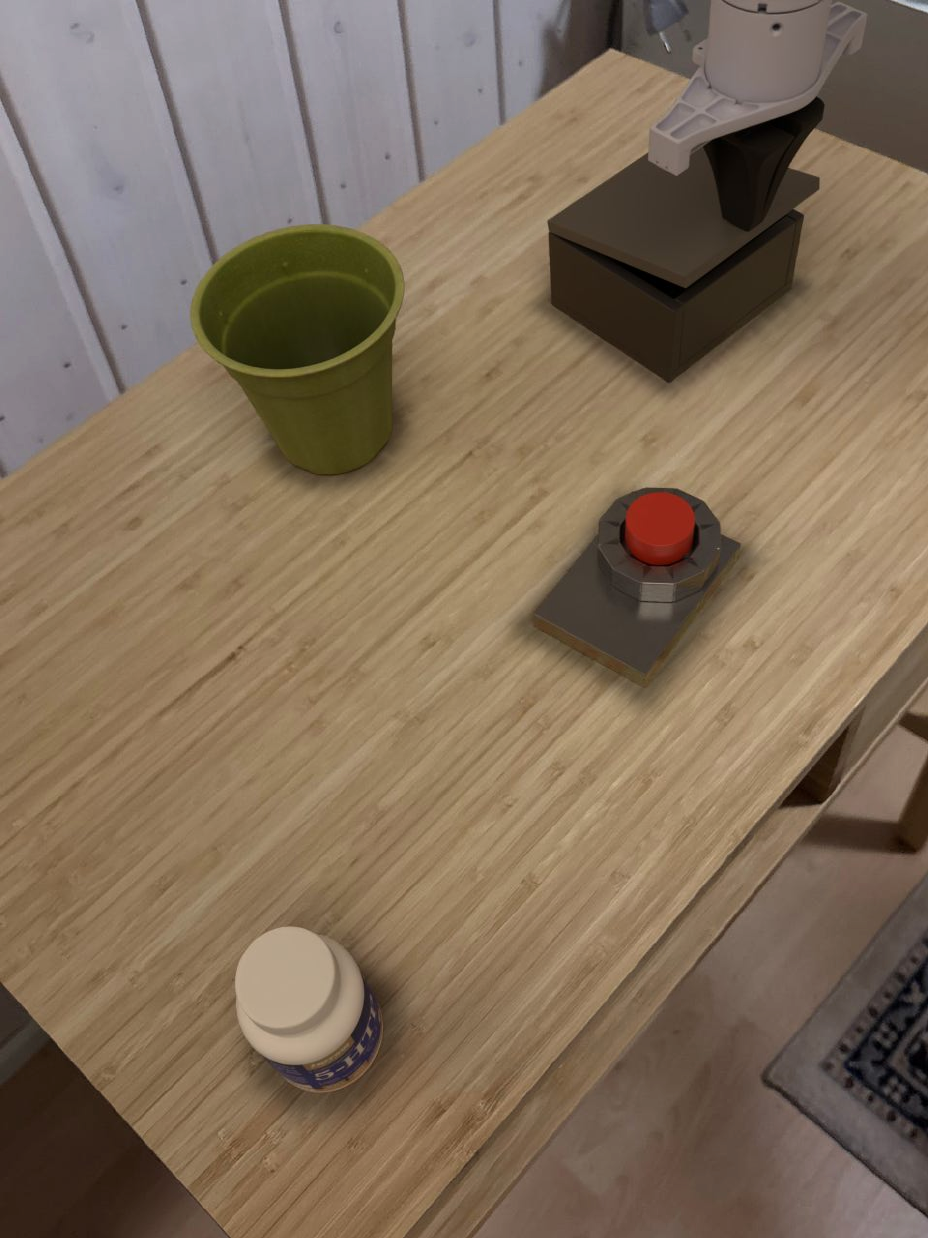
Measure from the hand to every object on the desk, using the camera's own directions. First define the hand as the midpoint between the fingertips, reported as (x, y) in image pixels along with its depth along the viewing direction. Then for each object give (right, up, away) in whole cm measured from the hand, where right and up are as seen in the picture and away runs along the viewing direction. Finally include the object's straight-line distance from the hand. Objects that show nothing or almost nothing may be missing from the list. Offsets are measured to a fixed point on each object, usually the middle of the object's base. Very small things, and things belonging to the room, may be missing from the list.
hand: (742, 219), depth 66 cm
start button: (-6, -19, -4) cm, 20 cm away
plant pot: (-24, -12, +6) cm, 27 cm away
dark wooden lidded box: (-2, -2, +10) cm, 10 cm away
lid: (-3, +2, +4) cm, 5 cm away
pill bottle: (-22, -42, -14) cm, 49 cm away
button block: (-6, -22, -3) cm, 23 cm away
